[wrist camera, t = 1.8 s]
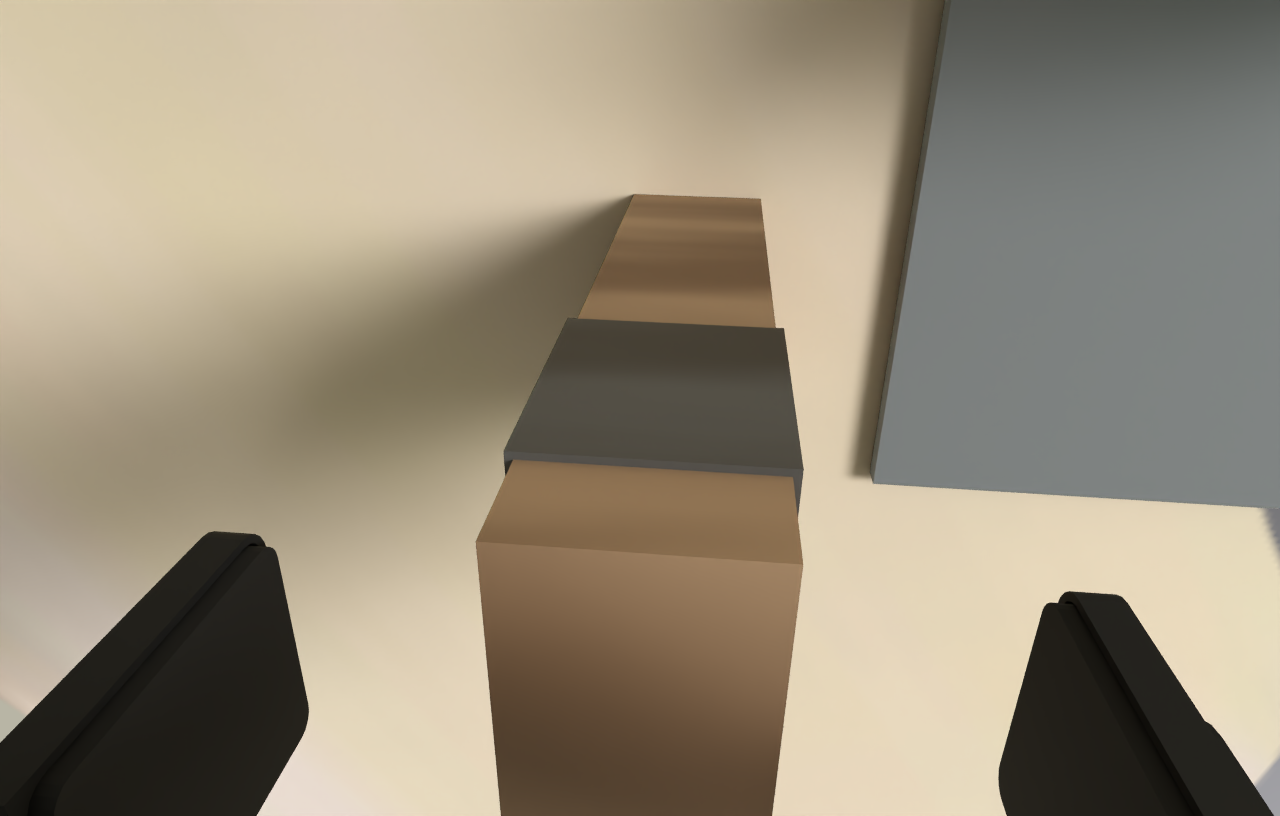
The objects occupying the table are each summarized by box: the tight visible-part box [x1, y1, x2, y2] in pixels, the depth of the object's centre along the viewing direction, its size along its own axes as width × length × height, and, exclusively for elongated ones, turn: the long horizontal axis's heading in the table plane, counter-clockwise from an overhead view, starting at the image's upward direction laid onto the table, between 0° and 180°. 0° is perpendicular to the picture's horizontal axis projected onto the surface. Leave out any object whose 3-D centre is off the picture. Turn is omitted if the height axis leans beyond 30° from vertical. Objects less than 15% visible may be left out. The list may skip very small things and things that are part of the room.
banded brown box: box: [476, 194, 804, 816], centre depth 15 cm, size 5×3×14 cm
